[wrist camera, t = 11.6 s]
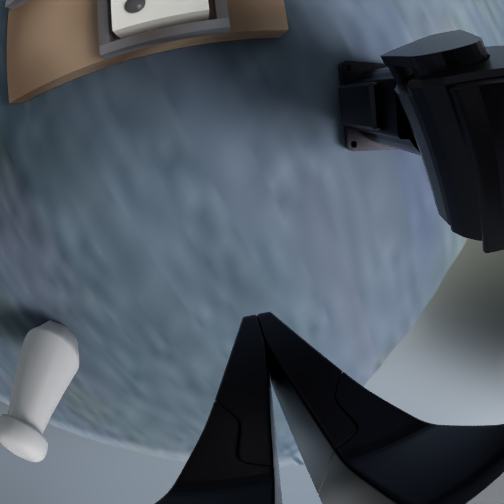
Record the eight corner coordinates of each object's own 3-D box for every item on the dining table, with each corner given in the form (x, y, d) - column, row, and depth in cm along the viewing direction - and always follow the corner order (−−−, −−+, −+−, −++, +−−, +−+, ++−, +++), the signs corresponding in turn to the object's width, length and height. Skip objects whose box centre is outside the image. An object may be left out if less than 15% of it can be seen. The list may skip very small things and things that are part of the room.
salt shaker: (25, 326, 21) (-24, 431, 9) (52, 303, 20) (-6, 425, 9) (65, 364, 24) (34, 471, 12) (96, 346, 23) (66, 470, 12)
